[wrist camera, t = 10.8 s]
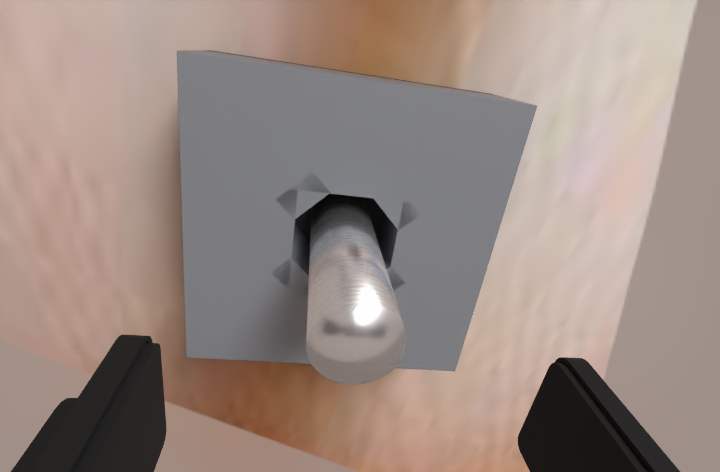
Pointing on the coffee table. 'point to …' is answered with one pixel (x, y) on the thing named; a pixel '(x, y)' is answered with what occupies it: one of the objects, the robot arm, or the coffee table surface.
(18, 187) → the coffee table surface
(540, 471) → the robot arm
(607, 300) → the coffee table surface
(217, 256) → the bore block
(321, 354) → the aluminium pin
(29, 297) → the coffee table surface
